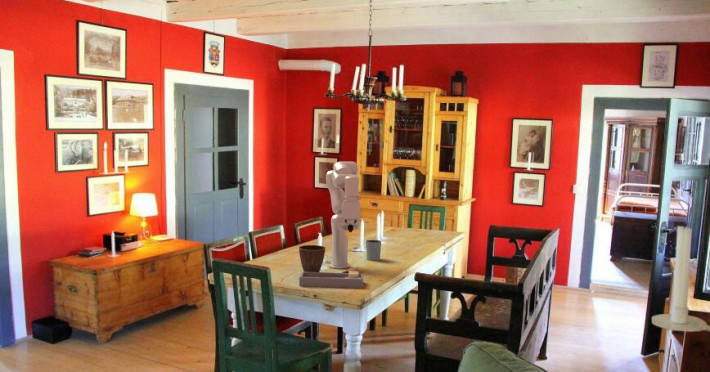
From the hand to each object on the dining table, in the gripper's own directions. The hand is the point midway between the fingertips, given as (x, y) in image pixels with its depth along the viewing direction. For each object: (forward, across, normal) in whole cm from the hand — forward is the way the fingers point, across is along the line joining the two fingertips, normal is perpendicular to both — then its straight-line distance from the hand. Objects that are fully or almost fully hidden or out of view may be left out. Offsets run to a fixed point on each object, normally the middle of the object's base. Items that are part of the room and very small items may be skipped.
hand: (350, 231), depth 309 cm
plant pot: (+27, +21, -3) cm, 34 cm away
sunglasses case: (+27, -1, -5) cm, 28 cm away
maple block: (+23, -3, +13) cm, 27 cm away
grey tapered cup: (+28, -12, -50) cm, 58 cm away
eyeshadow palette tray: (+26, +8, +12) cm, 30 cm away
